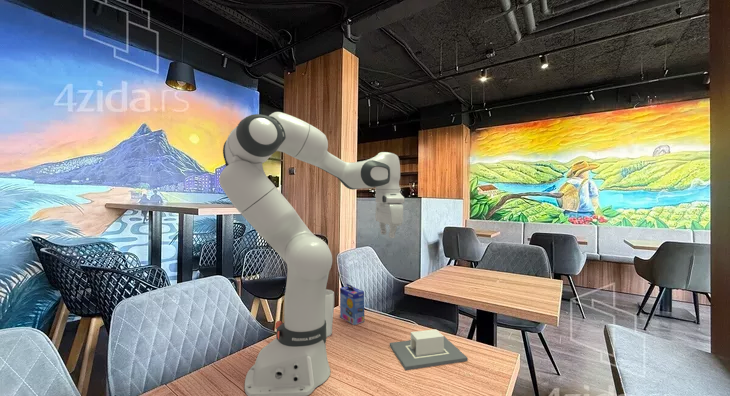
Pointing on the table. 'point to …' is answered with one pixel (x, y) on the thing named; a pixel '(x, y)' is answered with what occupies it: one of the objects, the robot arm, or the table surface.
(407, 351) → the board
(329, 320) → the drinking glass
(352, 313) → the ink cartridge box
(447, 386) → the table surface
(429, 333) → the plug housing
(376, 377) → the table surface
